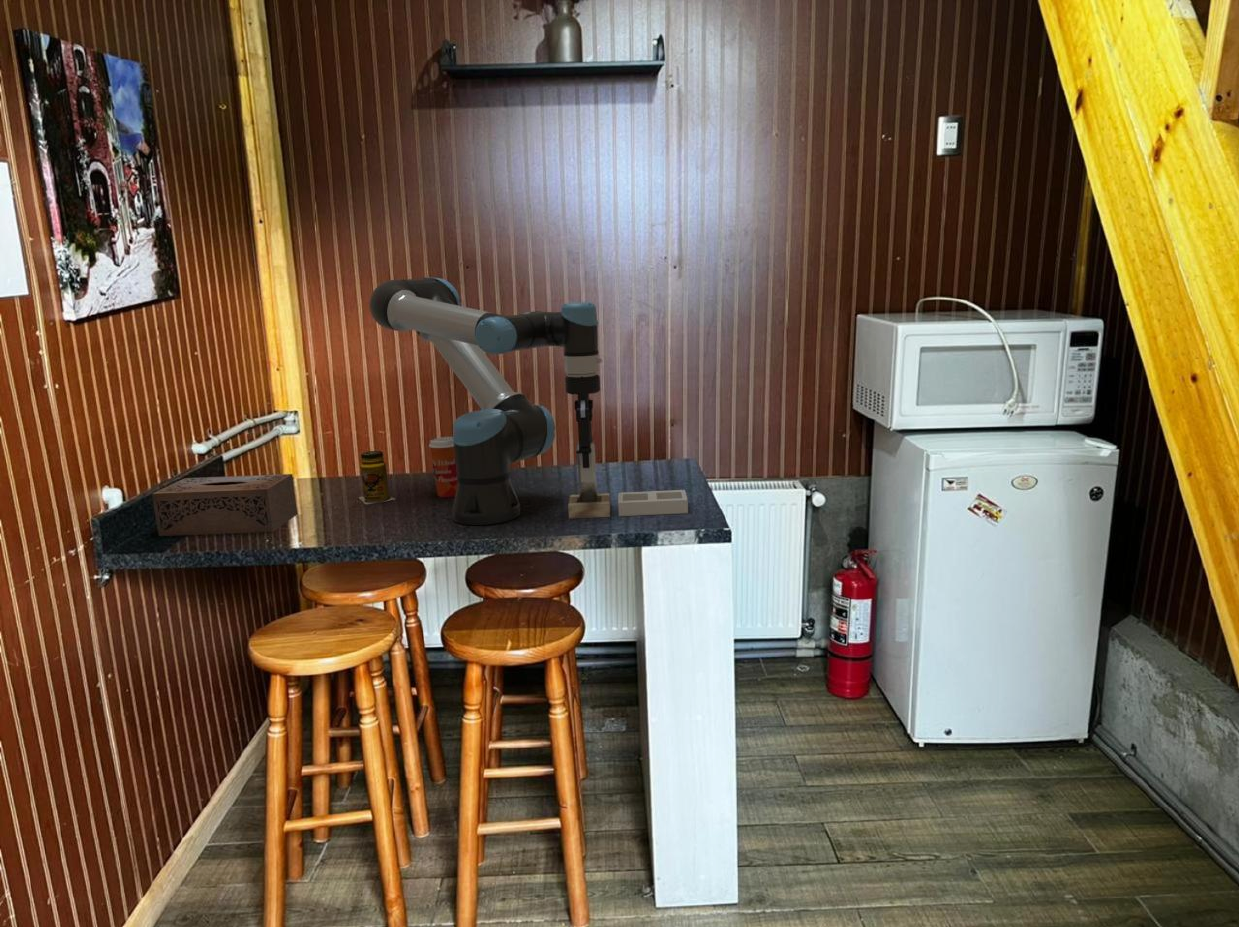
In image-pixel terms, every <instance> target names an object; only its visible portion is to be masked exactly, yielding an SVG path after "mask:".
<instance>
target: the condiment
mask: <svg viewBox="0 0 1239 927" xmlns="http://www.w3.org/2000/svg"><path fill="white" fill-rule="evenodd" d="M360 458H361V459H360V460H361V464H360V474H361V483H362V492H363V496H359V497H358V498H359V500H360V501H361V502H362V503H363V504H364V505H371V504H379V503H384V502H389V501H395V500H396V498H394V497H393V496H392V495H391V494H390V489H389V481H388V479H389V478H388V471H387V470H388V469H387V464H386V462H385V461H384V453H383V451H381V450H370V451H365V452H362V453H361V454H360Z"/></svg>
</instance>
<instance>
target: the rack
mask: <svg viewBox="0 0 1239 927" xmlns="http://www.w3.org/2000/svg"><path fill="white" fill-rule="evenodd" d="M617 495H618V499H617V500H618V501H617V505H618V506H617V507H618V517H628V516H629V517H630V516H631V517H632V516H633V517H634V516H652V515H656V516H657V515H658V516H659V515H674V514H675V515H676V514H689V503H688V502H689V501H688V496H687V493H686V490H685V489H676V490H673V489H672V490H653V491H651V490H649V491H633V492H632V491H629V492H618V494H617Z"/></svg>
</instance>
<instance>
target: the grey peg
mask: <svg viewBox="0 0 1239 927" xmlns="http://www.w3.org/2000/svg"><path fill="white" fill-rule="evenodd" d="M594 443H595V442H592V443H591V449H592V466H593V482H581V475H580V455H579V454H576V457H577V476H578V478H577V479H578V495H579V500H580V503H587V502H597V494H598V488H597V487H598V486H597V485H598V484H597V463H596V462H597V461H596V443H595V444H594ZM576 451H579V443H577V444H576Z"/></svg>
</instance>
